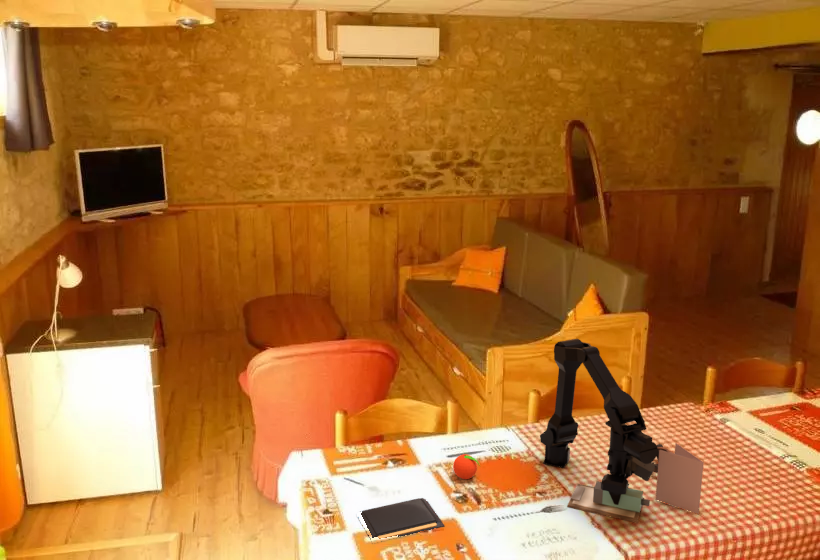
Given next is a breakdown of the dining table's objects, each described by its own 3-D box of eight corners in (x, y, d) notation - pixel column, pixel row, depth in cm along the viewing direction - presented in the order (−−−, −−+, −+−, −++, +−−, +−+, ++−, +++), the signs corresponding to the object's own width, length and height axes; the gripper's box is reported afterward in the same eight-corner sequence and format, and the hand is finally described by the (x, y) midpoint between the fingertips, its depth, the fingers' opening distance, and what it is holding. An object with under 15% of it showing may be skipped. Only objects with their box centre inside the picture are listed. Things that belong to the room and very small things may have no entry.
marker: (593, 502, 190) (593, 488, 189) (596, 494, 194) (596, 481, 193) (647, 514, 184) (648, 499, 183) (649, 506, 188) (650, 492, 187)
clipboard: (567, 506, 191) (567, 502, 190) (577, 485, 201) (577, 481, 201) (637, 522, 183) (637, 518, 183) (644, 499, 194) (644, 495, 193)
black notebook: (425, 493, 196) (446, 523, 182) (425, 499, 196) (446, 530, 182) (354, 507, 189) (370, 539, 176) (354, 514, 190) (371, 546, 176)
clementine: (483, 475, 208) (484, 452, 206) (475, 486, 201) (476, 463, 200) (458, 469, 211) (458, 447, 209) (449, 480, 205) (449, 458, 203)
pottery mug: (688, 480, 204) (678, 461, 201) (656, 491, 206) (646, 472, 203) (675, 451, 215) (666, 432, 211) (645, 462, 217) (635, 443, 214)
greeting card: (701, 513, 187) (706, 461, 183) (677, 518, 185) (681, 466, 181) (674, 491, 197) (678, 442, 194) (650, 496, 195) (654, 446, 192)
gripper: (648, 469, 174) (644, 525, 178) (658, 437, 190) (654, 489, 194) (602, 460, 179) (598, 515, 182) (615, 429, 195) (612, 481, 199)
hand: (617, 500), depth 189 cm, fingers closed on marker, 4 cm apart
